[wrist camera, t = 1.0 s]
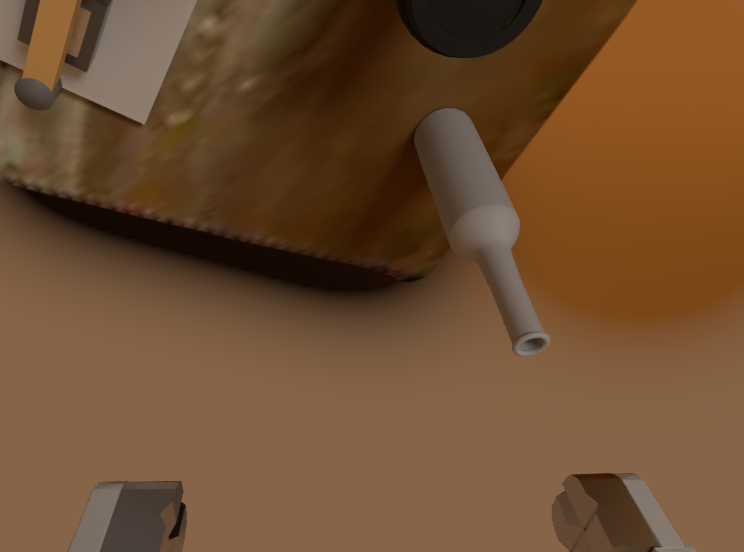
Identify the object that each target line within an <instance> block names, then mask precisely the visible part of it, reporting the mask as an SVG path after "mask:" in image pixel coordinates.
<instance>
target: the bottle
mask: <svg viewBox="0 0 744 552" xmlns="http://www.w3.org/2000/svg"><path fill="white" fill-rule="evenodd" d="M414 144H415V148H416V150H417V153H418V156H419V160H420V163H421V166H422V168H423V171H424V174H425V177H426V180H427V183H428V185H429V188H430V191H431V194H432V197H433V199H434V202H435V205H436V208H437V211H438V214H439V216H440V219H441V222H442V225H443V228H444V230H445V233H446V236H447V239H448V242H449V244H450V246H451V248H452V249H453V251H454V252H455V253H456V254H458V255H459V256H461V257H462V258H464V259H466V260H469V261H473V262H477V263H478V264H479V266H480V268H481V270H482V273H483V274H484V276H485V279H486V281H487V283H488V285H489V287H490V289H491V291H492V293H493V296H494V299H495V301H496V304H497V306H498V309H499V311H500V314H501V316H502V319H503V321H504V324H505V326H506V328H507V331H508V334H509V336H510V339H511V341H512V344H513V345H512V350H513V352H514V353H515V354H516V355H518V356H532V355H535V354H538V353H540V352H542V351H543V350H545V349H546V348H547V347H548V345H549V343H550V338H549V336H548V335H547V334H545V333H544V332H543V330H542V327H541V325H540V323H539V321H538V318H537V316H536V313H535V311H534V309H533V307H532V304H531V302H530V300H529V297H528V295H527V293H526V290H525V288H524V286H523V284H522V281H521V278H520V276H519V273H518V270H517V267H516V264H515V261H514V258H513V256H512V253H511V248H512V246H513V245H514V243H515V241H516V239H517V237H518V234H519V229H520V221H519V218H518V216H517V214H516V211H515V209H514V207H513V205H512V203H511V201H510V199H509V197H508V195H507V193H506V191H505V189H504V187H503V184H502V182H501V180H500V178H499V176H498V174H497V172H496V170H495V168H494V166H493V164H492V162H491V160H490V158H489V155H488V153H487V151H486V149H485V147H484V145H483V143H482V141H481V139H480V137H479V135H478V133H477V131H476V129H475V127H474V125H473V123H472V121H471V119H470V117H469V116H468V115H467V114H466V113H465V112H464V111H462V110H459V109H457V108H449V107H448V108H441V109H438V110H435V111H433V112H431V113H429V114H428V115H427V116H425V117H424V118H423V119H422V120H421V122H420V123H419V125H418V126H417V128H416V131H415V135H414Z"/></svg>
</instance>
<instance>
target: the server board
mask: <svg viewBox="0 0 744 552" xmlns="http://www.w3.org/2000/svg"><path fill="white" fill-rule="evenodd" d="M25 1H26V0H0V60H2V61H4V62H6V63H8V64H11V65H13V66H15V67H17V68H19V69H22V70H24V67H25V63H26V59H27V54H28V50H29V45H27V44H25V43H23V42H21V41H18V40H17V38H18V34H19V29H20V24H21V20H22V15H23V11H24V6H25ZM196 2H197V0H113V2H112V5H111V8H110V11H109V14H108V17H107V21H106V24H105V27H104V30H103V33H102V36H101V39H100V42H99V45H98V48H97V52H96V55H95V58H94V60H93V62H92V64H91V66H90V68H89V70H88V71H87V73H86V72H84V71H82V70H80V69H78V68H76V67H74V66H71V65H69V64H67V63H65V62H64V65H63V69H62V72H61V76H60V79H61V82H62V88H64V89H66V90H69V91H71V92H73V93H75V94H77V95H80V96H82V97H84V98H86V99H89V100H91V101H93V102H95V103H98V104H100V105H102V106H104V107H106V108H109V109H111V110H113V111H115V112H118V113H120V114H122V115H124V116H127V117H129V118H131V119H133V120H135V121H138V122H140V123H142V124H144V125H145V122H146V120H147V118H148V115H149V113H150V110H151V108H152V106H153V103H154V101H155V99H156V96H157V94H158V92H159V89H160V87H161V84H162V82H163V80H164V77H165V75H166V73H167V70H168V68H169V66H170V63H171V61H172V58H173V56H174V54H175V51H176V49H177V47H178V44H179V42H180V40H181V37H182V35H183V32H184V30H185V28H186V25H187V23H188V21H189V18H190V16H191V14H192V11H193V9H194V6H195V4H196Z"/></svg>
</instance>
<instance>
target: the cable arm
mask: <svg viewBox="0 0 744 552" xmlns="http://www.w3.org/2000/svg"><path fill="white" fill-rule="evenodd" d="M81 2H82V0H40V3H39V8H38V12H37V16H36V20H35V25H34V29H33V33H32V37H31V42H30V46H29V50H28V54H27V59H26V63H25V67H24V72H23V74H22V76H21V77H20V78H19V80H18V81H17V83H16V84H15V88H14V89H15V94H16V96H17V97H18V99H19V100H20V101H21V102H22V103H23V104H24V105H26V106H28V107H30V108H32V109H35V110H46V109H49V108H50V107H51V106H52V105H53V103H54V101H55V99H56V98H57V96H58V94H59V93H60V91H61V89H62V82H61V79H60V76H61V72H62V69H63V65H64V62H65V58H66V55H67V51H68V48H69V44H70V41H71V37H72V33H73V30H74V26H75V23H76V19H77V16H78V12H79V9H80V5H81Z"/></svg>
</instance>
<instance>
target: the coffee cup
mask: <svg viewBox="0 0 744 552" xmlns="http://www.w3.org/2000/svg"><path fill="white" fill-rule="evenodd" d="M396 2H397V8H398V11H399V13H400V16H401V18H402V21H403V23H404V25H405V26H406V28H407V29H408V31H409V32H410V34H411V35H412V36H413V37H414V38H415V39H416V40H417V41H418V42H419V43H421V44H422V45H423V46H424V47H426V48H428V49H429V50H431V51H433V52H435V53H438V54H441V55H444V56H447V57H456V58H473V57H480V56H484V55H487V54H490V53H493V52H495V51H497V50H499V49H501V48H503V47H504V46H506V45H507V44H508V43H510V42H511V41H513V40H514V39H515V38H516V37H517V36H518V35H519V34H520V33H521V32H522V31H523V30H524V29H525V28H526V27H527V26H528V24H529V23H530V22H531V20H532V19H533V18H534V16H535V14H536V12H537V11H538V9H539V7H540V5H541V3H542V0H396Z"/></svg>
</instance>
